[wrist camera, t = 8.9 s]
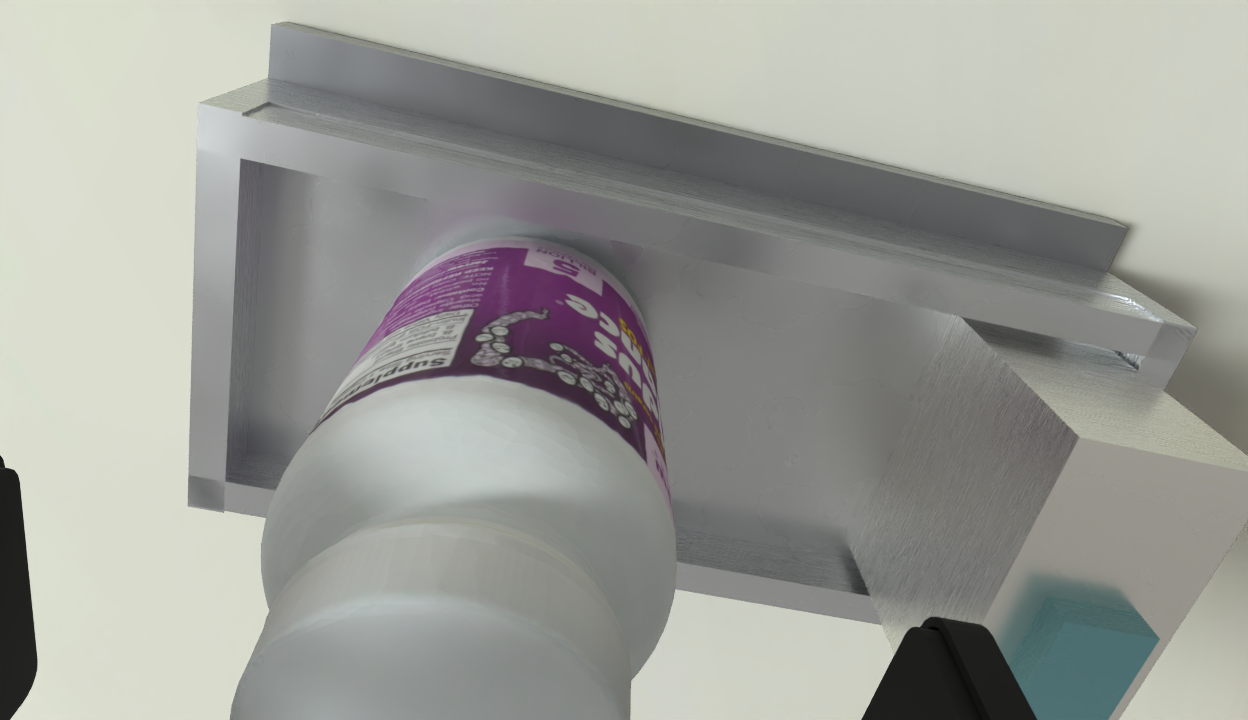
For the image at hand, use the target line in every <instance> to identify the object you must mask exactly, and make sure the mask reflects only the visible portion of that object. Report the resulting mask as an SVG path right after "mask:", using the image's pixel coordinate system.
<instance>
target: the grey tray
mask: <svg viewBox="0 0 1248 720" xmlns="http://www.w3.org/2000/svg"><path fill="white" fill-rule="evenodd" d="M1127 230H1128V228H1127V227H1125V226H1123V225H1121V224H1119V223H1117V222H1115V221H1113V220H1111V219H1109V218H1106V217H1102V216H1098V215H1094V214H1089V213H1085V212H1081V211H1077V210H1073V209H1068V208H1064V207H1060V206H1056V205H1052V204H1047V203H1043V202H1039V201H1035V200H1031V199H1027V198H1022V197H1018V196H1014V195H1010V194H1006V193H1001V192H997V191H993V190H989V189H985V188H980V187H976V186H972V185H968V184H964V183H960V182H955V181H951V180H947V179H943V178H939V177H934V176H930V175H926V174H922V173H918V172H913V171H909V170H905V169H901V168H897V167H892V166H888V165H884V164H880V163H876V162H872V161H867V160H863V159H859V158H855V157H851V156H846V155H842V154H838V153H834V152H830V151H825V150H821V149H817V148H813V147H809V146H805V145H800V144H796V143H792V142H788V141H784V140H779V139H775V138H771V137H767V136H763V135H758V134H754V133H750V132H746V131H742V130H738V129H733V128H729V127H725V126H721V125H717V124H712V123H708V122H704V121H700V120H696V119H691V118H687V117H683V116H679V115H675V114H670V113H666V112H662V111H658V110H654V109H650V108H645V107H641V106H637V105H633V104H629V103H624V102H620V101H616V100H612V99H608V98H603V97H599V96H595V95H591V94H587V93H583V92H578V91H574V90H570V89H566V88H562V87H557V86H553V85H549V84H545V83H541V82H536V81H532V80H528V79H524V78H520V77H515V76H511V75H507V74H503V73H499V72H495V71H490V70H486V69H482V68H478V67H474V66H469V65H465V64H461V63H457V62H453V61H448V60H444V59H440V58H436V57H432V56H428V55H423V54H419V53H415V52H411V51H407V50H402V49H398V48H394V47H390V46H386V45H381V44H377V43H373V42H369V41H365V40H361V39H356V38H352V37H348V36H344V35H340V34H335V33H331V32H327V31H323V30H319V29H314V28H310V27H306V26H302V25H298V24H293V23H289V22H281V23H276V24H271V41H270V58H269V75H268V78H267V79H264V80H261V81H258V82H255V83H253V84H250V85H247V86H244V87H241V88H239V89H236V90H233V91H230V92H227V93H225V94H222V95H219V96H216V97H213V98H211V99H208V100H205V101H202V102H199V103H198V125H197V164H196V203H195V243H194V282H193V321H192V360H191V399H190V438H189V478H188V506H189V507H194V508H200V509H206V510H212V511H217V512H223V513H224V512H225V511H229V512H235V513H241V514H246V515H252V516H258V517H264V518H266V517H267V513H268V510H269V507H270V503H271V501H272V498H273V496H274V493H275V491H276V489H277V487H278V485H279V483H280V481H281V478H282V476H283V474H284V472H285V470H286V469H287V467H288V465H289V464H290V462H291V460H292V458H293V456H294V454H295V453H296V452H297V450H298V449H299V448H300V446H301V445H302V444H303V442H304V441H305V439H306V438H307V436H308V435H309V433H310V432H311V430H312V429H313V427H314V426H315V424H316V423H317V421H318V420H319V418H320V417H321V415H322V414H323V412H324V410H325V409H326V407H327V406H328V404H329V403H330V401H331V400H332V398H333V397H334V395H335V393H336V392H337V390H338V388H339V387H340V385H341V384H342V382H343V380H344V379H345V377H346V376H347V374H348V373H349V371H350V370H351V368H352V367H353V365H354V363H355V362H356V360H357V359H358V357H359V355H360V354H361V352H362V351H363V349H364V347H365V346H366V345H367V343H368V342H369V340H370V339H371V337H372V336H373V334H374V333H375V331H376V330H377V328H378V326H379V325H380V323H381V321H382V319H383V318H384V316H385V315H386V314H387V312H388V310H389V308H390V307H391V306H392V305H393V303H394V301H395V300H396V298H397V297H398V296H399V294H400V293H401V292H402V290H403V289H404V288H405V286H406V285H407V284H408V283H409V282H410V280H411V279H412V278H413V277H414V276H415V275H416V274H417V273H418V272H420V271H421V270H422V269H423V268H424V267H425V266H426V265H427V264H429V263H430V262H432V261H433V260H435V259H436V258H438V257H439V256H441V255H443V254H444V253H446V252H448V251H449V250H451V249H453V248H455V247H458V246H460V245H463V244H467V243H470V242H474V241H477V240H481V239H486V238H493V237H503V236H523V237H535V238H540V239H544V240H548V241H551V242H554V243H559V244H562V245H565V246H567V247H571V248H574V249H576V250H577V251H579V252H581V253H583V254H585V255H587V256H589V257H590V258H592V259H594V260H595V261H597V262H598V263H600V264H601V265H602V266H603V267H604V268H606V269H607V270H608V271H609V272H610V273H611V274H612V275H614V276H615V277H616V278H617V279H618V280H619V281H620V282H621V283H622V285H623V286H624V287H625V289H626V290H627V291H628V292H629V294H630V295H631V297H632V299H633V300H634V302H635V304H636V305H637V307H638V309H639V310H640V312H641V314H642V316H643V319H644V322H645V325H646V328H647V331H648V335H649V338H650V343H651V348H652V354H653V359H654V367H655V371H656V378H657V392H658V397H659V403H660V410H661V420H662V428H663V435H664V442H665V453H666V461H667V471H668V479H669V484H670V493H671V501H672V509H673V514H674V526H675V537H676V554H677V574H676V584H675V589H678V590H684V591H689V592H695V593H701V594H707V595H712V596H718V597H724V598H730V599H735V600H741V601H747V602H753V603H758V604H764V605H770V606H776V607H781V608H787V609H793V610H799V611H804V612H810V613H816V614H822V615H827V616H833V617H839V618H845V619H850V620H856V621H862V622H868V623H873V624H879V625H882V626H883V629H884V631H885V633H886V636H887V638H888V641H889V643H890V646H891V648H892V650H893V653H894V655H895V653H896V651H897V649H898V647H899V645H900V643H901V641H902V639H903V637H904V635H905V634H906V632H907V631H908V630H909V629H910V628H912V627H920V626H921V625H922V623H923V622H924V621H925V620H926V619H928V618H929V617H941V618H947V619H952V620H958V621H964V622H969V623H975V624H981V625H983V626H984V627H986V628H987V629H988V630H989V631H990V633H991V634H992V635H993V637H994V639H995V641H996V643H997V645H998V647H999V648H1000V650H1001V652H1002V654H1003V656H1004V658H1005V660H1006V662H1007V664H1008V665H1009V667H1010V669H1011V671H1012V673H1013V675H1014V677H1015V679H1016V680H1017V682H1018V684H1019V686H1020V688H1021V690H1022V692H1023V694H1024V695H1025V697H1026V699H1027V701H1028V703H1029V705H1030V707H1031V709H1032V711H1033V712H1034V714H1035V716H1036V718H1037V720H1119V718H1120V717H1121V715H1122V714H1123V712H1124V711H1125V709H1126V708H1127V706H1128V704H1129V703H1130V701H1131V700H1132V698H1133V697H1134V695H1135V694H1136V692H1137V691H1138V689H1139V688H1140V686H1141V684H1142V683H1143V681H1144V680H1145V678H1146V677H1147V675H1148V674H1149V672H1150V671H1151V669H1152V667H1153V666H1154V664H1155V663H1156V661H1157V660H1158V658H1159V657H1160V655H1161V654H1162V652H1163V651H1164V649H1165V647H1166V646H1167V644H1168V643H1169V641H1170V640H1171V638H1172V637H1173V635H1174V634H1175V632H1176V630H1177V629H1178V627H1179V626H1180V624H1181V623H1182V621H1183V620H1184V618H1185V617H1186V615H1187V614H1188V612H1189V610H1190V609H1191V607H1192V606H1193V604H1194V603H1195V601H1196V600H1197V598H1198V597H1199V595H1200V593H1201V592H1202V590H1203V589H1204V587H1205V586H1206V584H1207V583H1208V581H1209V580H1210V578H1211V577H1212V575H1213V573H1214V572H1215V570H1216V569H1217V567H1218V566H1219V564H1220V563H1221V561H1222V560H1223V558H1224V556H1225V555H1226V553H1227V552H1228V550H1229V549H1230V547H1231V546H1232V544H1233V543H1234V541H1235V540H1236V538H1237V536H1238V535H1239V533H1240V532H1241V530H1242V529H1243V527H1244V526H1245V524H1246V523H1247V521H1248V456H1247V455H1246V454H1245V453H1243V452H1242V451H1241V450H1239V449H1238V448H1237V447H1235V446H1234V445H1233V444H1232V443H1230V442H1229V441H1228V440H1226V439H1225V438H1224V437H1223V436H1221V435H1220V434H1219V433H1217V432H1216V431H1215V430H1214V429H1212V428H1211V427H1210V426H1208V425H1207V424H1206V423H1205V422H1203V421H1202V420H1201V419H1199V418H1198V417H1197V416H1196V415H1194V414H1193V413H1192V412H1190V411H1189V410H1188V409H1187V408H1185V407H1184V406H1183V405H1181V404H1180V403H1179V402H1178V401H1176V400H1175V399H1174V398H1172V397H1171V396H1170V395H1168V394H1167V393H1166V392H1165V391H1164V389H1165V388H1166V386H1167V384H1168V382H1169V380H1170V379H1171V377H1172V375H1173V373H1174V371H1175V370H1176V368H1177V366H1178V364H1179V362H1180V361H1181V359H1182V357H1183V355H1184V353H1185V352H1186V350H1187V348H1188V346H1189V344H1190V343H1191V341H1192V339H1193V337H1194V335H1195V334H1196V332H1197V330H1198V328H1196V327H1195V326H1193V325H1192V324H1190V323H1189V322H1187V321H1185V320H1184V319H1182V318H1181V317H1179V316H1177V315H1176V314H1174V313H1173V312H1171V311H1169V310H1168V309H1166V308H1165V307H1163V306H1161V305H1160V304H1158V303H1157V302H1155V301H1153V300H1152V299H1150V298H1149V297H1147V296H1145V295H1144V294H1142V293H1141V292H1139V291H1137V290H1136V289H1134V288H1133V287H1131V286H1129V285H1128V284H1126V283H1125V282H1123V281H1121V280H1120V279H1118V278H1117V277H1115V276H1113V275H1112V274H1110V273H1109V272H1107V271H1108V269H1109V267H1110V265H1111V263H1112V261H1113V259H1114V257H1115V255H1116V253H1117V251H1118V249H1119V247H1120V244H1121V242H1122V240H1123V238H1124V236H1125V234H1126V232H1127Z"/></svg>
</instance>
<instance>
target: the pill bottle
mask: <svg viewBox="0 0 1248 720" xmlns="http://www.w3.org/2000/svg"><path fill="white" fill-rule="evenodd" d="M261 571H262V579H263V586H264V592H265V596H266V600H267V604H268V608H269V610H270V611H269V613H268V616H267V618H266V622H265V625H264V629H263V631H262V633H261V635H260V638H259V640H258V642H257V644H256V647H255V649H254V651H253V653H252V656H251V658H250V660H249V662H248V664H247V667H246V669H245V671H244V673H243V675H242V677H241V679H240V681H239V684H238V687H237V690H236V693H235V696H234V700H233V703H232V707H231V715H230V720H630V694H631V680H632V679H633V678H634V677H635V676H636V675H637V673H638V672H639V671H640V670H641V668H642V667H643V665H644V664H645V663H646V661H647V660H648V658H649V657H650V655H651V654H652V652H653V651H654V649H655V647H656V645H657V643H658V641H659V639H660V637H661V635H662V633H663V631H664V628H665V625H666V623H667V620H668V617H669V613H670V609H671V606H672V602H673V598H674V592H675V584H676V574H677V554H676V537H675V526H674V514H673V509H672V501H671V493H670V484H669V479H668V471H667V461H666V453H665V442H664V435H663V428H662V420H661V410H660V403H659V397H658V392H657V378H656V371H655V367H654V359H653V354H652V348H651V343H650V338H649V335H648V331H647V328H646V325H645V322H644V319H643V316H642V314H641V312H640V310H639V309H638V307H637V305H636V304H635V302H634V300H633V299H632V297H631V295H630V294H629V292H628V291H627V290H626V289H625V287H624V286H623V285H622V283H621V282H620V281H619V280H618V279H617V278H616V277H615V276H614V275H612V274H611V273H610V272H609V271H608V270H607V269H606V268H604V267H603V266H602V265H601V264H600V263H598V262H597V261H595V260H594V259H592V258H590V257H589V256H587V255H585V254H583V253H581V252H579V251H577V250H576V249H574V248H571V247H567V246H565V245H562V244H559V243H554V242H551V241H548V240H544V239H540V238H535V237H523V236H503V237H493V238H486V239H481V240H477V241H474V242H470V243H467V244H463V245H460V246H458V247H455V248H453V249H451V250H449V251H448V252H446V253H444V254H443V255H441V256H439V257H438V258H436V259H435V260H433V261H432V262H430V263H429V264H427V265H426V266H425V267H424V268H423V269H422V270H421V271H420V272H418V273H417V274H416V275H415V276H414V277H413V278H412V279H411V280H410V282H409V283H408V284H407V285H406V286H405V288H404V289H403V290H402V292H401V293H400V294H399V296H398V297H397V298H396V300H395V301H394V303H393V305H392V306H391V307H390V308H389V310H388V312H387V314H386V315H385V316H384V318H383V319H382V321H381V323H380V325H379V326H378V328H377V330H376V331H375V333H374V334H373V336H372V337H371V339H370V340H369V342H368V343H367V345H366V346H365V347H364V349H363V351H362V352H361V354H360V355H359V357H358V359H357V360H356V362H355V363H354V365H353V367H352V368H351V370H350V371H349V373H348V374H347V376H346V377H345V379H344V380H343V382H342V384H341V385H340V387H339V388H338V390H337V392H336V393H335V395H334V397H333V398H332V400H331V401H330V403H329V404H328V406H327V407H326V409H325V410H324V412H323V414H322V415H321V417H320V418H319V420H318V421H317V423H316V424H315V426H314V427H313V429H312V430H311V432H310V433H309V435H308V436H307V438H306V439H305V441H304V442H303V444H302V445H301V446H300V448H299V449H298V450H297V452H296V453H295V454H294V456H293V458H292V460H291V462H290V464H289V465H288V467H287V469H286V470H285V472H284V474H283V476H282V478H281V481H280V483H279V485H278V487H277V489H276V491H275V493H274V496H273V498H272V501H271V503H270V507H269V510H268V513H267V517H266V521H265V526H264V531H263V537H262V543H261Z"/></svg>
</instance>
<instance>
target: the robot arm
mask: <svg viewBox="0 0 1248 720" xmlns="http://www.w3.org/2000/svg"><path fill="white" fill-rule="evenodd" d="M36 672H37V651H36V641H35V631H34V621H33V611H32V601H31V591H30V581H29V571H28V561H27V551H26V541H25V531H24V520H23V510H22V500H21V490H20V481H19V477H18V474H17V473H16V472H15V470H12V469H9V468H5V465H4V461H3V458H2V457H1V456H0V720H10V719H11V718H12V716H13V715H14V714H15V712H16V711H17V710H18V708H19V707H20V706H21V704H22V703H23V701H24V700H25V698H26V697H27V695H28V693H29V691H30V689H31V687H32V685H33V682H34V679H35V676H36ZM862 720H1037V718H1036V716H1035V714H1034V712H1033V711H1032V709H1031V707H1030V705H1029V703H1028V701H1027V699H1026V697H1025V695H1024V694H1023V692H1022V690H1021V688H1020V686H1019V684H1018V682H1017V680H1016V679H1015V677H1014V675H1013V673H1012V671H1011V669H1010V667H1009V665H1008V664H1007V662H1006V660H1005V658H1004V656H1003V654H1002V652H1001V650H1000V648H999V647H998V645H997V643H996V641H995V639H994V637H993V635H992V634H991V633H990V631H989V630H988V629H987V628H986V627H984V626H983V625H981V624H975V623H969V622H964V621H958V620H952V619H947V618H941V617H929V618H928V619H926V620H925V621H924V622H923V623H922V625H921V626H920V627H912V628H910V629H909V630H908V631H907V632H906V634H905V635H904V637H903V639H902V641H901V643H900V645H899V647H898V649H897V651H896V653H895V655H894V657H893V659H892V661H891V663H890V665H889V667H888V669H887V671H886V673H885V675H884V677H883V679H882V680H881V682H880V684H879V686H878V688H877V690H876V692H875V694H874V696H873V698H872V700H871V702H870V704H869V706H868V708H867V710H866V712H865V714H864V716H863V718H862Z"/></svg>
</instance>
